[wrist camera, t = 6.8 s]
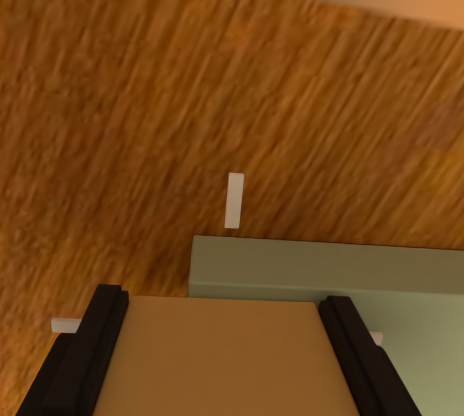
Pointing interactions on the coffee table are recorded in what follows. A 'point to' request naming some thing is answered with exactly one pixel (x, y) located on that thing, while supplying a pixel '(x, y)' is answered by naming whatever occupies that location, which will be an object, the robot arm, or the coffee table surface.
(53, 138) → the coffee table surface
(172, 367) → the brown cardboard box
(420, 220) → the coffee table surface
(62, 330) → the panel
